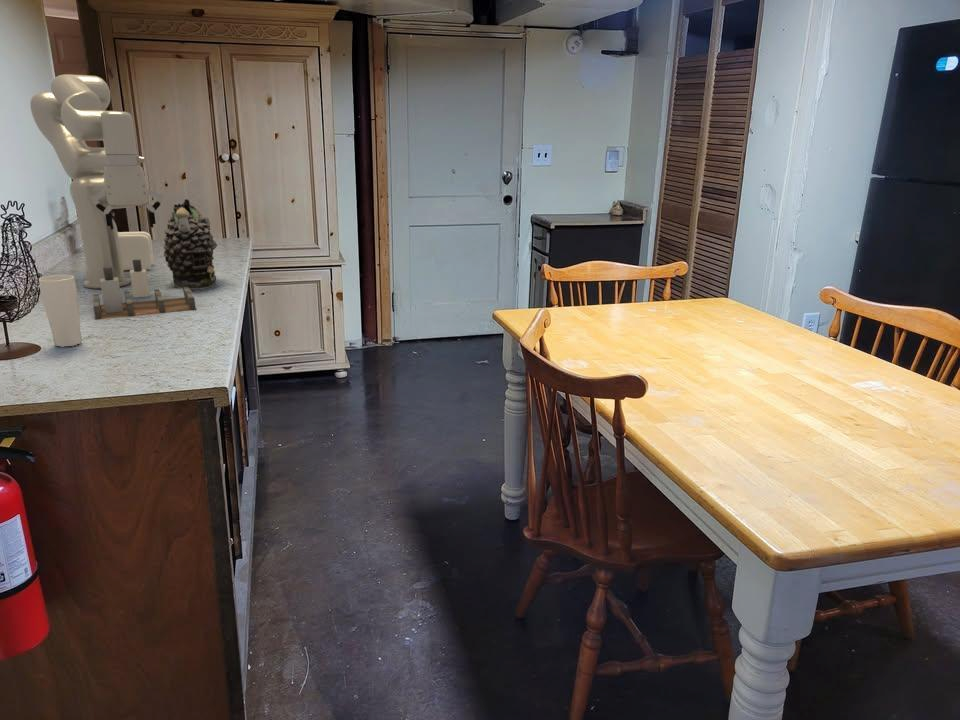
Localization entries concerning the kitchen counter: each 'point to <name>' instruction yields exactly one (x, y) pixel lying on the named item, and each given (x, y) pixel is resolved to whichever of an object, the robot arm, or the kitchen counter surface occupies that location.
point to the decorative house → (189, 248)
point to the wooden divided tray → (147, 305)
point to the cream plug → (139, 280)
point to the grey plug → (111, 292)
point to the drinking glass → (61, 308)
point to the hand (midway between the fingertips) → (132, 227)
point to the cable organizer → (135, 249)
